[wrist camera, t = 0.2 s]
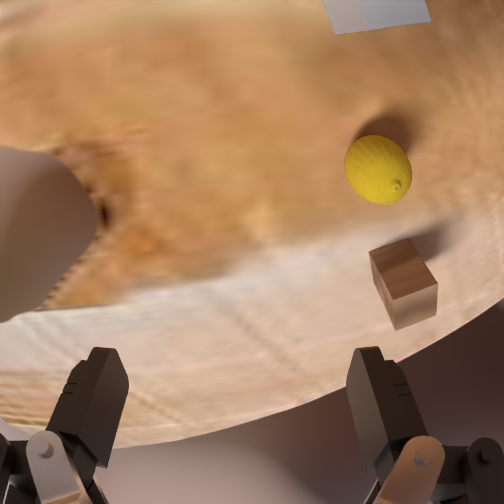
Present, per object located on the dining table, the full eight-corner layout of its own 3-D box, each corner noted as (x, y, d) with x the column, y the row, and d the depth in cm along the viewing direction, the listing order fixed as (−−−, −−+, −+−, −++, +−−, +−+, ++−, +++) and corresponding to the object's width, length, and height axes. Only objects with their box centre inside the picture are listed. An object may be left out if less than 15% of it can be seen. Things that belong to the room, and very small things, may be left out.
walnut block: (368, 251, 35) (392, 300, 29) (407, 238, 34) (437, 283, 28) (374, 282, 38) (395, 330, 31) (409, 269, 37) (436, 315, 30)
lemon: (331, 178, 30) (357, 220, 23) (337, 123, 27) (368, 149, 20) (383, 181, 30) (418, 221, 24) (392, 129, 27) (434, 157, 20)
